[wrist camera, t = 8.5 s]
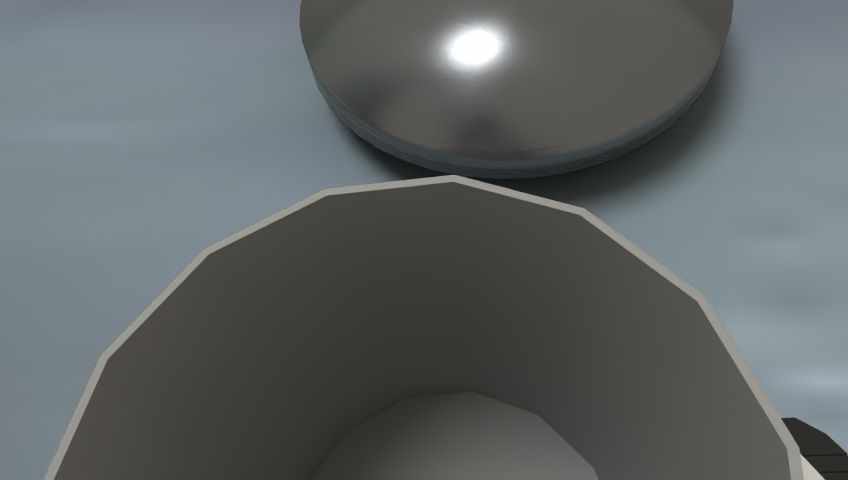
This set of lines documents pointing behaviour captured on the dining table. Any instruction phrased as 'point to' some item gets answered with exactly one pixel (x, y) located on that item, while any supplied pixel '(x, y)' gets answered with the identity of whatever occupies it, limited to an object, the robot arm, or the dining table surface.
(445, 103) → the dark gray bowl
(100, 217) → the dining table surface
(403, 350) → the cup
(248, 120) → the dining table surface
